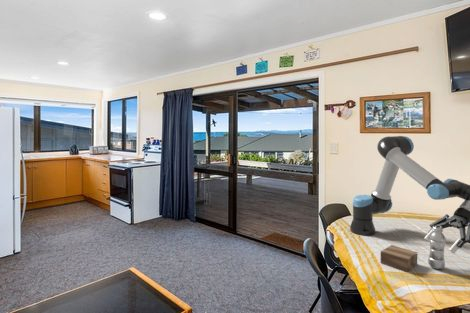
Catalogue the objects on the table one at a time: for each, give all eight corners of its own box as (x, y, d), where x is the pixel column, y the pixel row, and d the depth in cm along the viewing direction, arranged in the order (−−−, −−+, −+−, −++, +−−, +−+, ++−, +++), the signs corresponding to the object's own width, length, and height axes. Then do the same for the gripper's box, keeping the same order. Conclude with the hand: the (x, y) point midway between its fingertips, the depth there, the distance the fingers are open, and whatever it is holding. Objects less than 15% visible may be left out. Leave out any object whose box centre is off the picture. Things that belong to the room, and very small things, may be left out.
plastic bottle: (437, 264, 134) (438, 224, 132) (448, 270, 127) (450, 228, 125) (424, 264, 133) (425, 224, 132) (435, 271, 127) (436, 229, 125)
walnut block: (391, 256, 143) (391, 245, 143) (417, 264, 134) (417, 252, 133) (380, 263, 136) (380, 251, 136) (407, 272, 127) (407, 259, 126)
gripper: (500, 225, 118) (469, 262, 117) (448, 210, 142) (421, 240, 141) (490, 214, 117) (458, 251, 116) (439, 200, 141) (412, 231, 140)
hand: (438, 245), depth 129 cm, fingers open, 13 cm apart
